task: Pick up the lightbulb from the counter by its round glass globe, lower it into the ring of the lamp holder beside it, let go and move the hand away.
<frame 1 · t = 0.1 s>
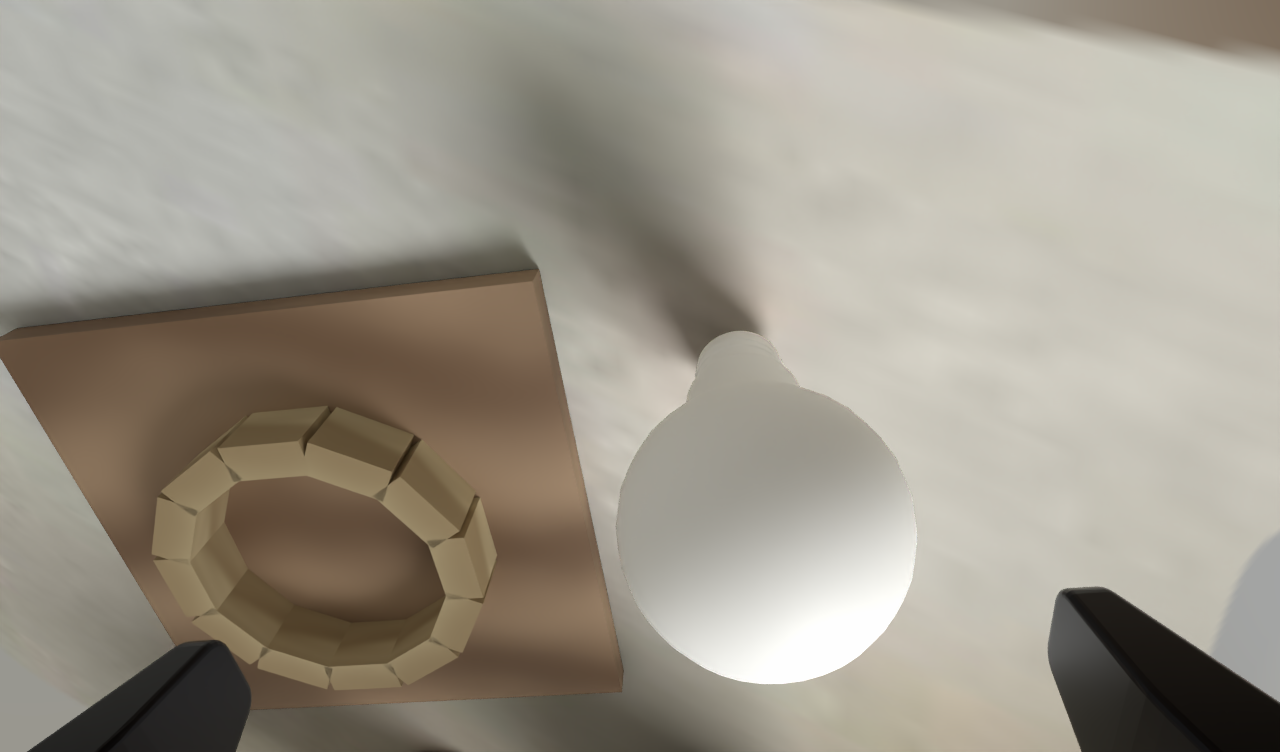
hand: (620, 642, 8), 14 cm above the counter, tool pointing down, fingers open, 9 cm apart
lamp holder: (355, 519, 26), on the counter
lightbulb: (736, 353, 22), on the counter
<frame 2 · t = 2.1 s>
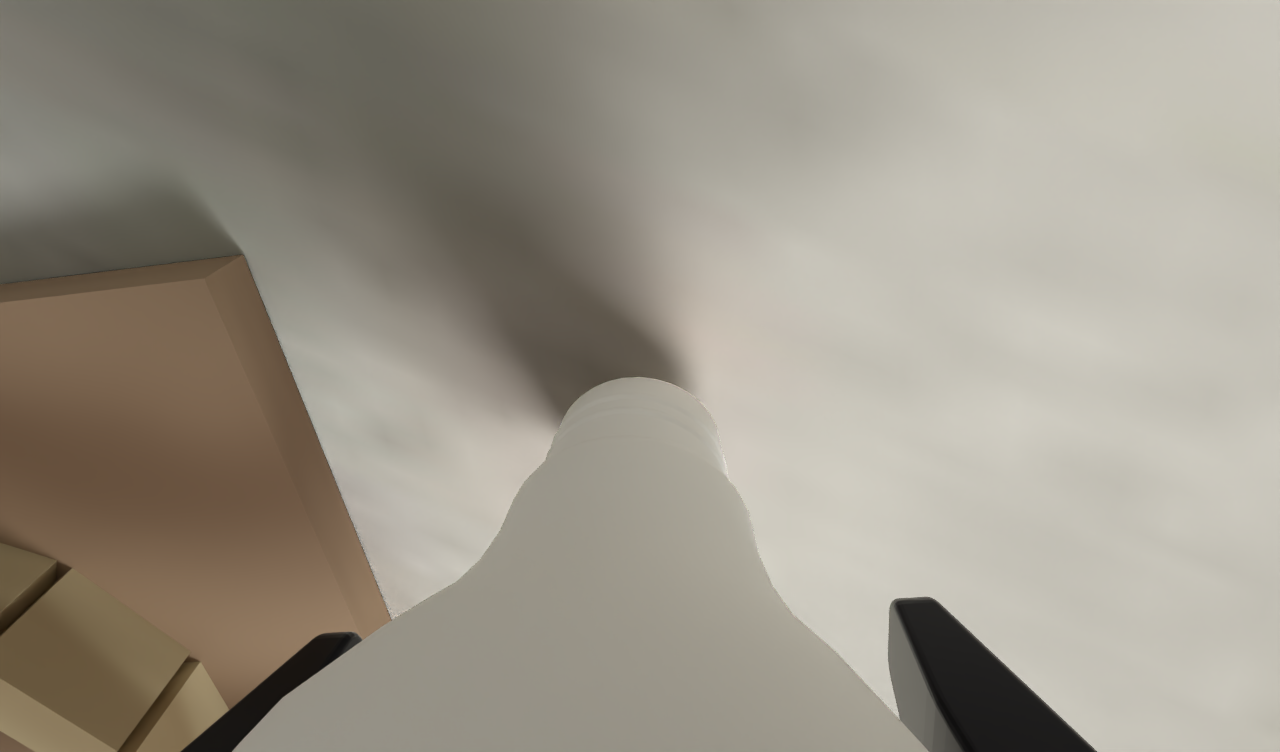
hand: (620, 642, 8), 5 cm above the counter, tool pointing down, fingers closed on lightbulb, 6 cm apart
lamp holder: (28, 676, 16), on the counter
lightbulb: (642, 414, 12), on the counter, touching gripper
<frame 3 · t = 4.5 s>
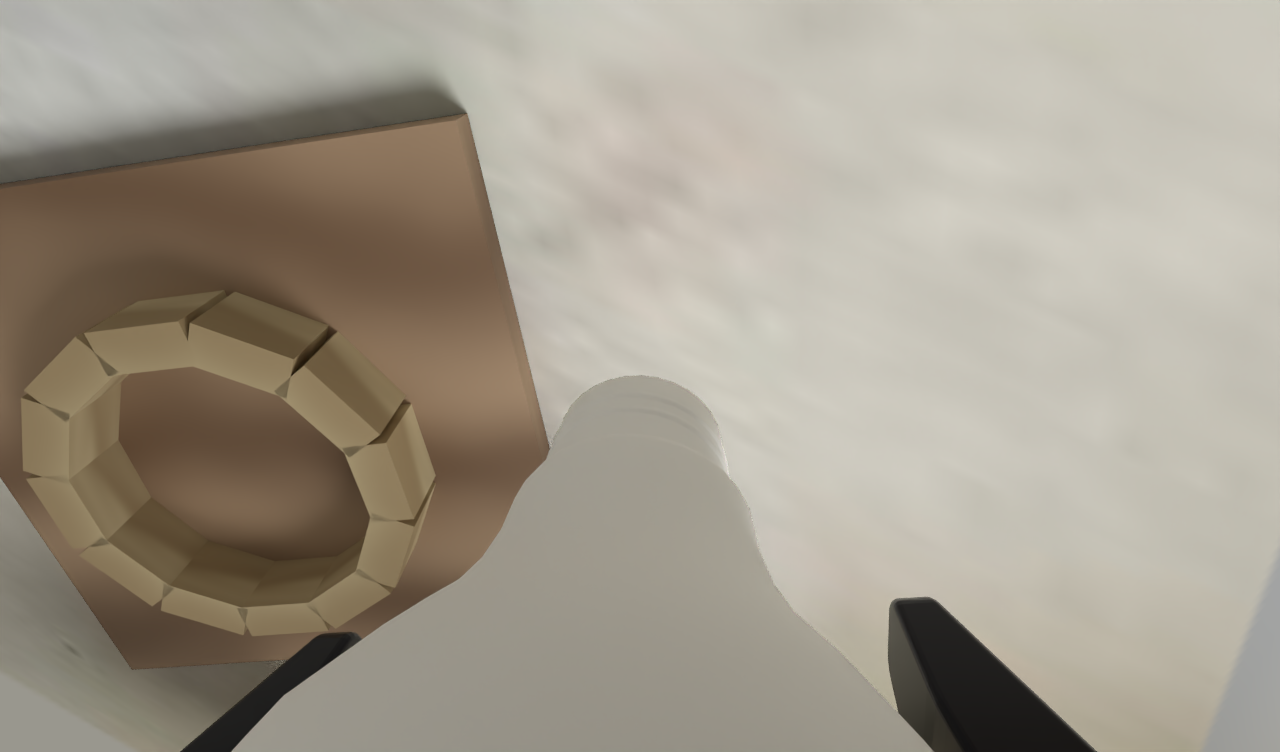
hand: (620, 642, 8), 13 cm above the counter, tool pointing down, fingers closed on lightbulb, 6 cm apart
lamp holder: (273, 438, 23), on the counter
lightbulb: (643, 413, 12), point 8 cm above the counter, touching gripper
when the fingers open (6 cm above the counter, at t = 7.0 s): lightbulb stays where it is, resting on lamp holder.
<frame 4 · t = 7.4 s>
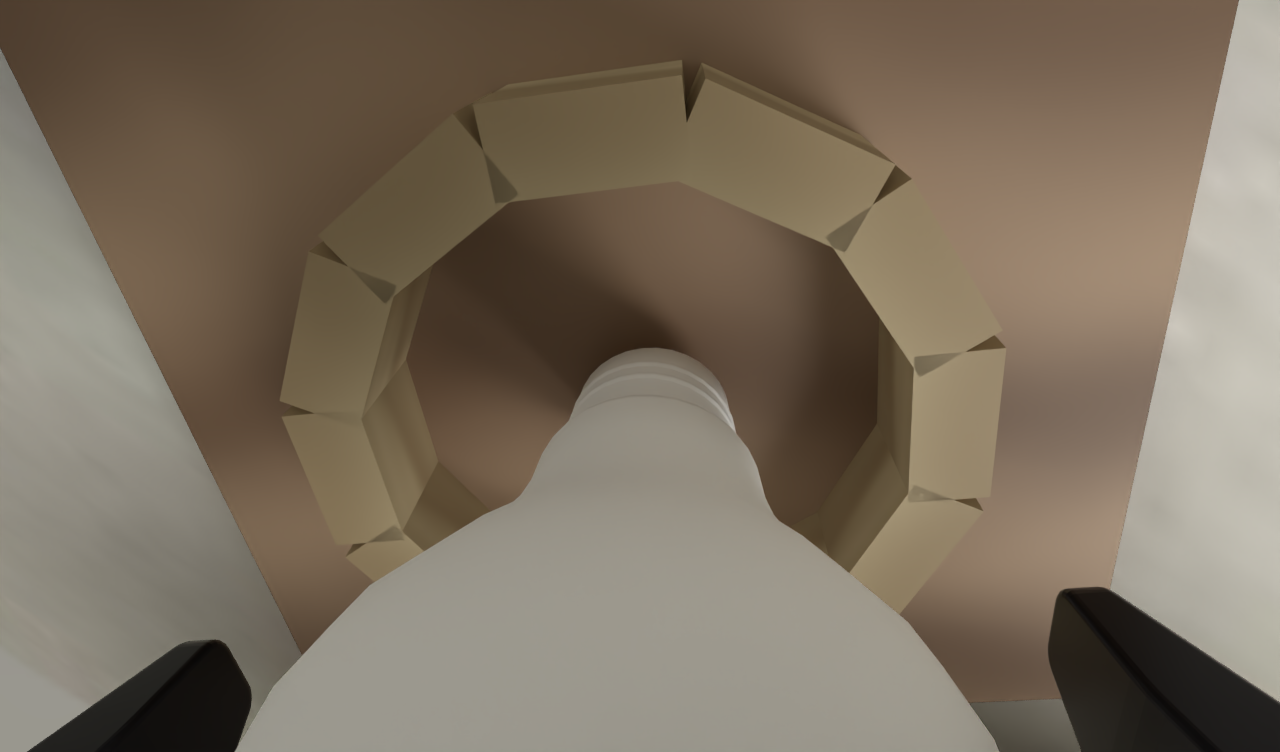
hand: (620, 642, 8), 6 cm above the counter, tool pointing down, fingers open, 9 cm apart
lamp holder: (645, 365, 14), on the counter
lightbulb: (655, 386, 13), point 1 cm above the counter, touching lamp holder
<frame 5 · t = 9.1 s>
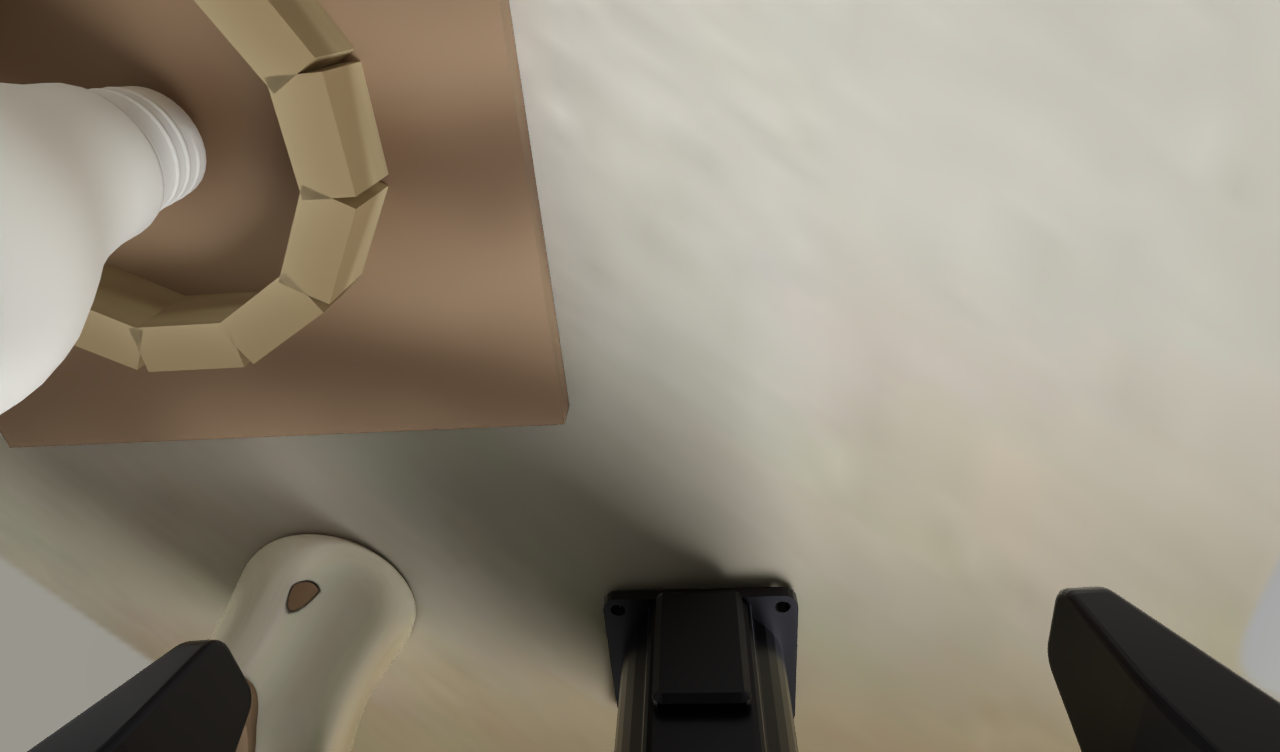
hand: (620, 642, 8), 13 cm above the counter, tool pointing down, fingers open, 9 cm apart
lamp holder: (188, 128, 18), on the counter
lightbulb: (177, 135, 17), point 1 cm above the counter, touching lamp holder
beer glass: (334, 593, 26), on the counter
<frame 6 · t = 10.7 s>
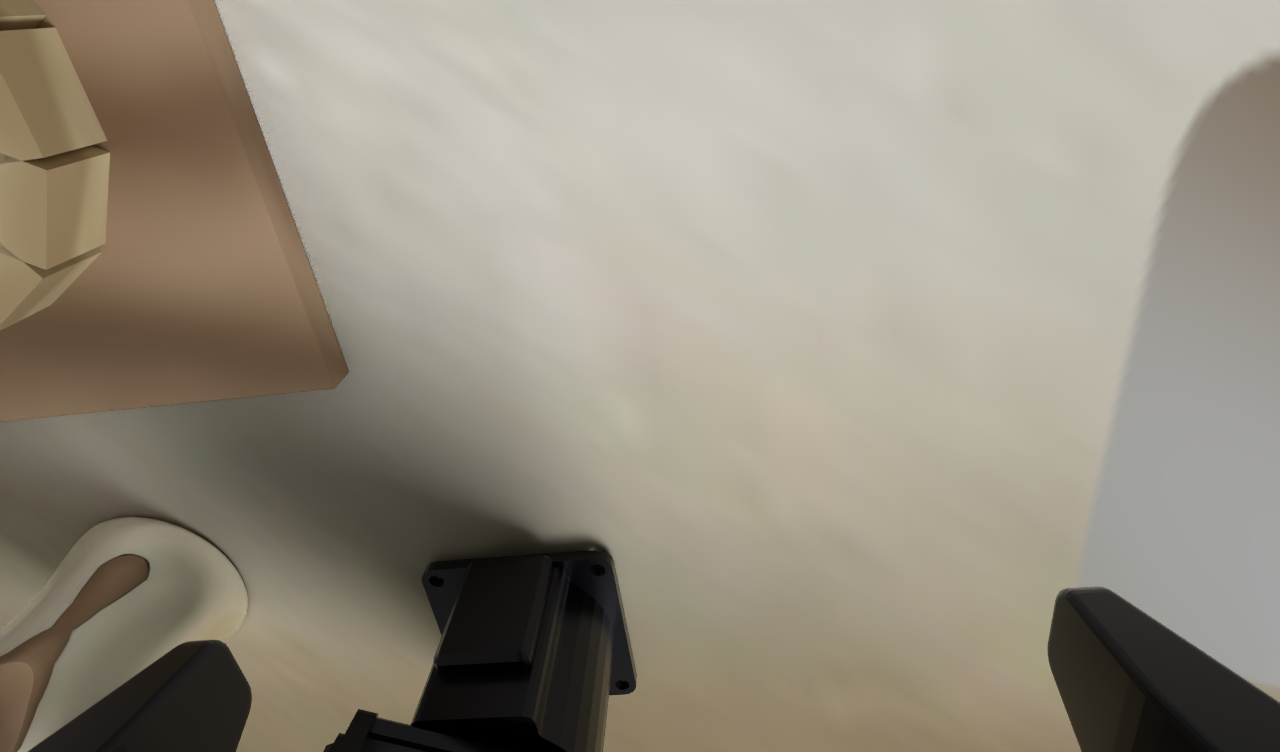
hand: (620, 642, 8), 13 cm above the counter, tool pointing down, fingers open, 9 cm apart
beer glass: (168, 578, 26), on the counter
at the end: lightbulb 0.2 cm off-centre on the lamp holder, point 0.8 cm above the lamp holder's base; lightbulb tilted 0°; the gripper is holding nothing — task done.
